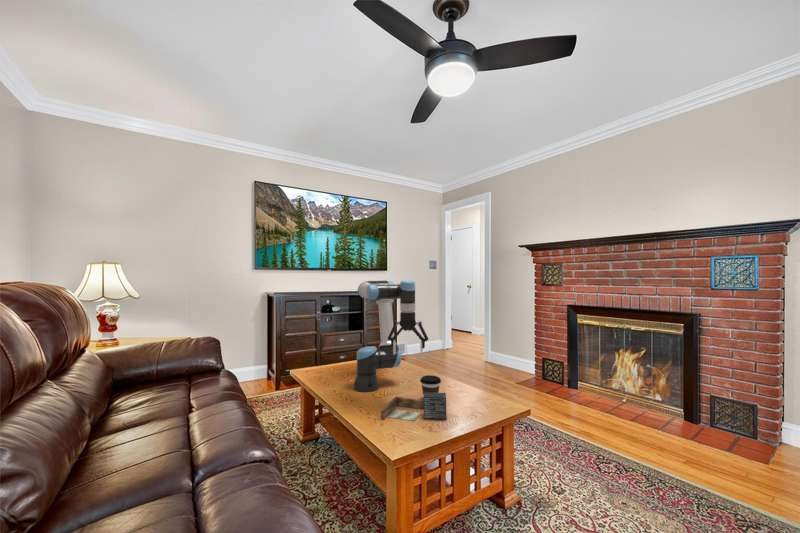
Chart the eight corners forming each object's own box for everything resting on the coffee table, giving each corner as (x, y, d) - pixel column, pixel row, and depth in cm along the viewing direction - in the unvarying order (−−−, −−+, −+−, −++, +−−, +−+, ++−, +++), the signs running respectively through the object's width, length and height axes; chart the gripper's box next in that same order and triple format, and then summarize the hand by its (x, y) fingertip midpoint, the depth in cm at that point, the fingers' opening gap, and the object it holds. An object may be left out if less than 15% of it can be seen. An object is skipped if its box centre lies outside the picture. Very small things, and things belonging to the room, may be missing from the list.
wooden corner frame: (381, 419, 152) (381, 410, 152) (395, 404, 170) (395, 396, 170) (417, 425, 146) (417, 415, 146) (428, 409, 164) (428, 400, 164)
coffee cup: (416, 399, 177) (416, 376, 177) (434, 396, 181) (434, 374, 181) (426, 406, 167) (426, 382, 167) (445, 403, 171) (444, 379, 171)
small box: (446, 414, 157) (446, 392, 158) (446, 420, 151) (446, 397, 151) (423, 413, 158) (423, 391, 159) (423, 419, 152) (423, 396, 152)
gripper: (381, 312, 163) (381, 355, 162) (432, 312, 159) (432, 357, 158) (384, 310, 170) (385, 351, 170) (433, 311, 166) (433, 353, 166)
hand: (407, 354), depth 164 cm, fingers open, 13 cm apart
